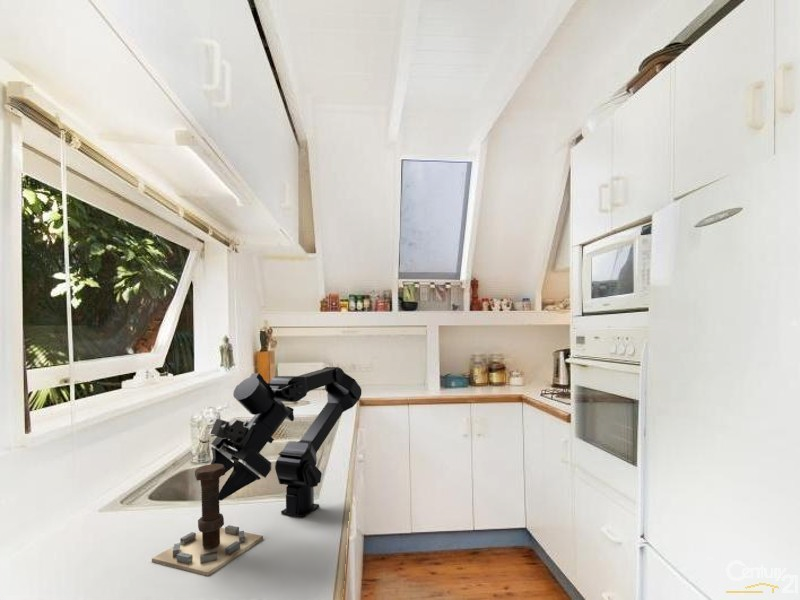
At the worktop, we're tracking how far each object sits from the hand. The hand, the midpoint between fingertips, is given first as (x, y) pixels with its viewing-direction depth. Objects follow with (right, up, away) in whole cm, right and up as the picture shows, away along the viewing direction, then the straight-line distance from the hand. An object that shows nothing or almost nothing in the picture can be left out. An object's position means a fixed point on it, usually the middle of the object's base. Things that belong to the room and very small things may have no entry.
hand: (210, 493), depth 85 cm
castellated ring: (0, -11, -1) cm, 11 cm away
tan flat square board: (0, -11, -1) cm, 11 cm away
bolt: (+1, -10, -1) cm, 10 cm away
